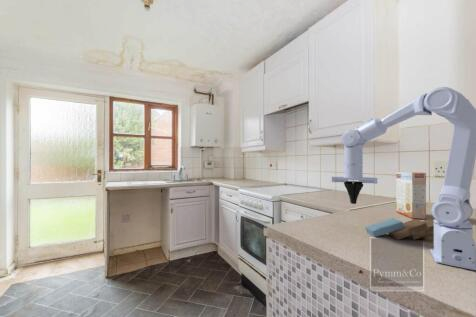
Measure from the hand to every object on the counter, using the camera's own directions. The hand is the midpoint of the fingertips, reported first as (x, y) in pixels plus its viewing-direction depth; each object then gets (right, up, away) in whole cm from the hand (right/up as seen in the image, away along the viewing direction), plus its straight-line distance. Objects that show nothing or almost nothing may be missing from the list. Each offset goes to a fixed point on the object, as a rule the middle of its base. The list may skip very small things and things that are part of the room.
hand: (353, 203), depth 77 cm
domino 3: (+16, -10, -4) cm, 19 cm away
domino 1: (+5, -10, -2) cm, 11 cm away
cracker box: (+42, -12, +27) cm, 51 cm away
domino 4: (+20, -10, -5) cm, 23 cm away
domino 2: (+11, -10, -4) cm, 15 cm away
